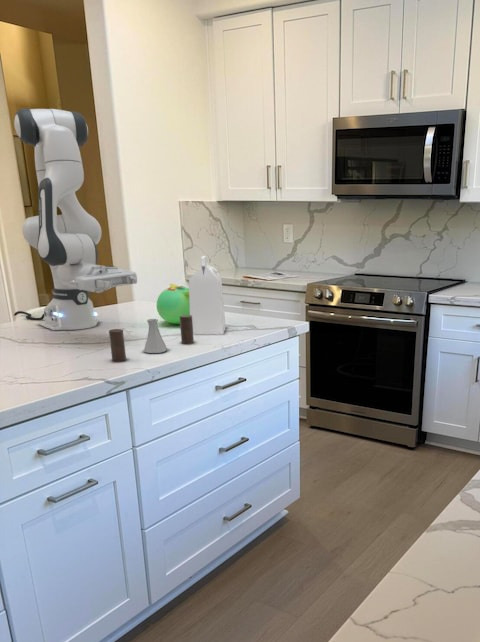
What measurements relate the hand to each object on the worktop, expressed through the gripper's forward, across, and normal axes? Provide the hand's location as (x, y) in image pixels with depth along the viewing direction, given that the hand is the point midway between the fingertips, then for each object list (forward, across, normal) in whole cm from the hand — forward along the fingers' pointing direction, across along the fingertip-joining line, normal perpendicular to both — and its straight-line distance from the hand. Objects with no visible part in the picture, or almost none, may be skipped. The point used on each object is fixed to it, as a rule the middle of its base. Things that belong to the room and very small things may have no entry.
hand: (122, 283), depth 191 cm
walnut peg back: (+12, +14, +20) cm, 27 cm away
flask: (+13, 0, +20) cm, 24 cm away
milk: (+4, +32, +20) cm, 38 cm away
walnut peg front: (+12, -14, +20) cm, 27 cm away
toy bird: (-13, +35, +21) cm, 43 cm away
